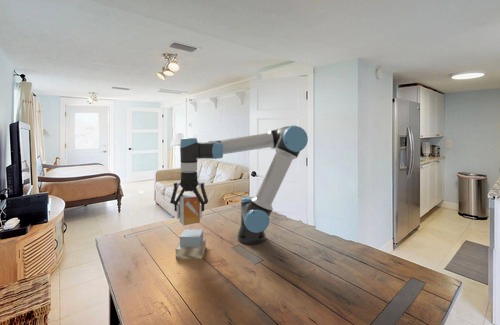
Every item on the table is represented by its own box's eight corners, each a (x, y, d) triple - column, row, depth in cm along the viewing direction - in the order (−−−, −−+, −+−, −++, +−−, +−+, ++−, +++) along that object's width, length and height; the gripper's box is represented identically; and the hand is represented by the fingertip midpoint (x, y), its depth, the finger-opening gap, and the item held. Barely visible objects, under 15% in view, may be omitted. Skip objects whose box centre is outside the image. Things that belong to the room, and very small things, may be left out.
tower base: (205, 247, 129) (205, 238, 129) (202, 259, 117) (202, 248, 117) (181, 247, 129) (181, 238, 128) (175, 259, 117) (175, 249, 116)
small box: (183, 226, 116) (183, 198, 115) (179, 221, 122) (178, 195, 120) (200, 222, 121) (200, 195, 119) (195, 218, 126) (195, 193, 125)
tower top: (203, 239, 127) (203, 229, 127) (199, 247, 118) (199, 237, 118) (185, 239, 127) (185, 229, 127) (180, 247, 119) (179, 236, 118)
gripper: (214, 170, 123) (214, 215, 125) (166, 169, 122) (167, 215, 124) (212, 172, 115) (212, 220, 118) (162, 172, 114) (163, 220, 117)
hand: (189, 217), depth 121 cm, fingers closed on small box, 10 cm apart
